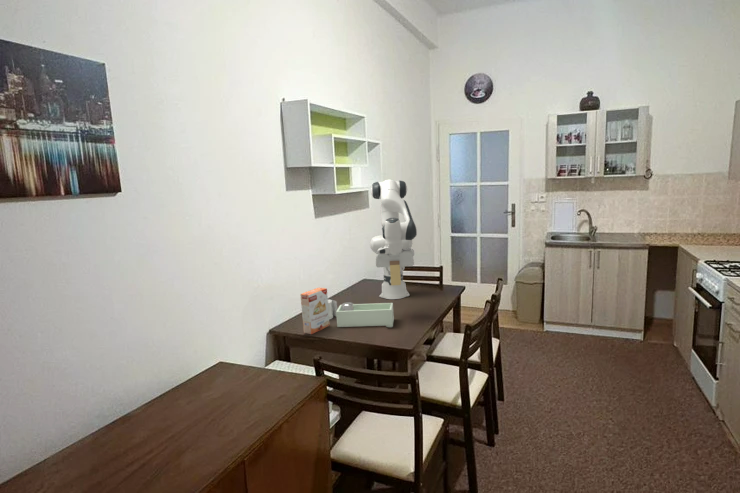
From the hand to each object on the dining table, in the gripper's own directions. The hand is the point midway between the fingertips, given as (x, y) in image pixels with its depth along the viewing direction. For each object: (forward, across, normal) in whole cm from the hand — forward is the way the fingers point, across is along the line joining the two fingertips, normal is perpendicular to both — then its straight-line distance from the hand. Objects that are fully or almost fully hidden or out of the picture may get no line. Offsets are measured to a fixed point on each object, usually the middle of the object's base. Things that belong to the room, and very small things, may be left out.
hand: (395, 274), depth 234 cm
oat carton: (+5, 0, 0) cm, 5 cm away
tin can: (+22, +25, +12) cm, 35 cm away
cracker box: (+23, +40, +20) cm, 50 cm away
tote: (+22, +16, +12) cm, 30 cm away
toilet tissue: (+23, +40, +2) cm, 46 cm away
